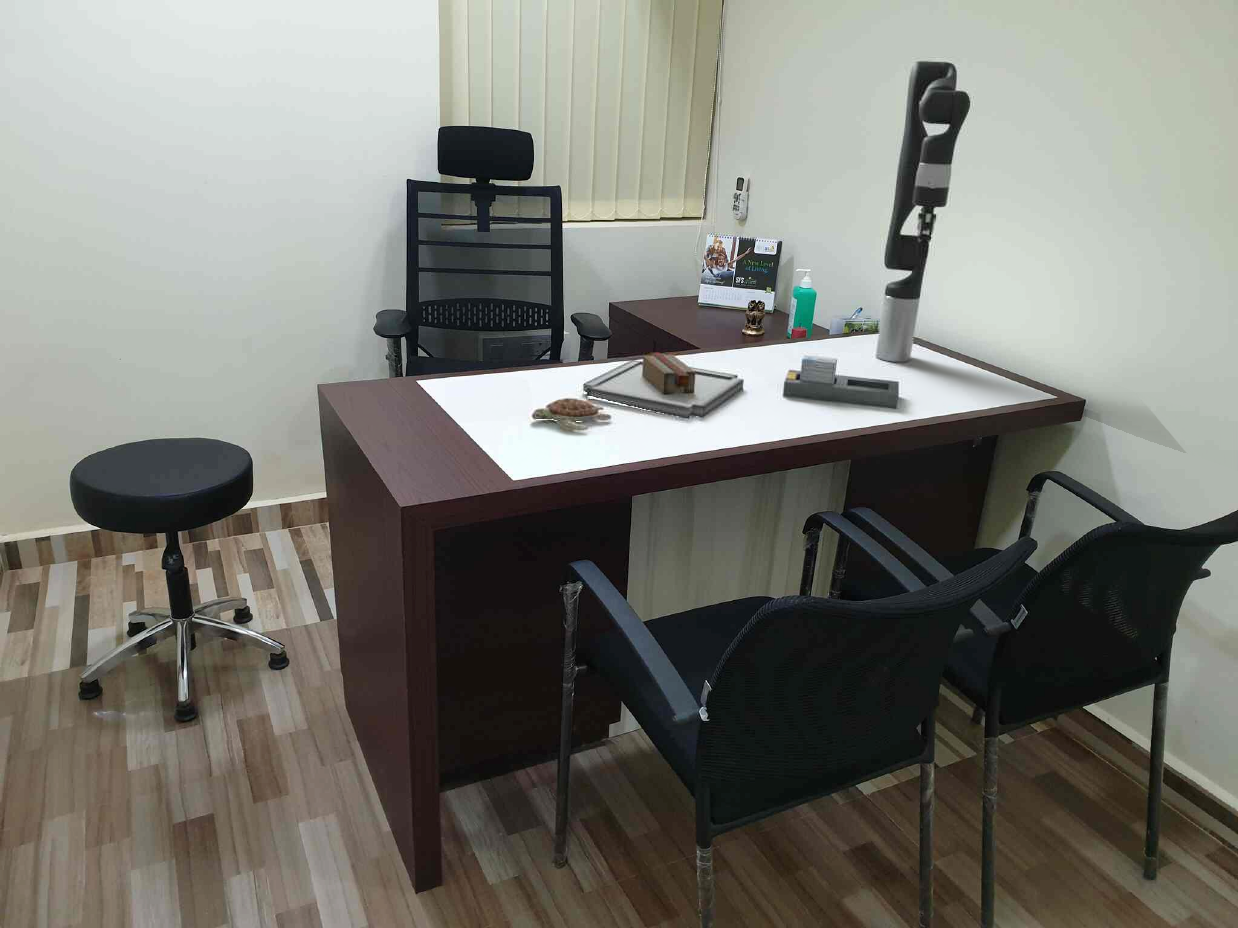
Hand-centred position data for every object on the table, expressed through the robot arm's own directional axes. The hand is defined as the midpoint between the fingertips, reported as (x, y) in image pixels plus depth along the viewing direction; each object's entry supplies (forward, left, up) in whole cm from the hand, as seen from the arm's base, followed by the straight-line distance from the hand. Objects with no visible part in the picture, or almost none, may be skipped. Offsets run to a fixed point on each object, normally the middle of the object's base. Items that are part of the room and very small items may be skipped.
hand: (920, 256), depth 215 cm
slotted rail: (+14, -14, -32) cm, 38 cm away
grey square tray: (+27, -54, -33) cm, 69 cm away
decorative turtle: (+54, -68, -33) cm, 93 cm away
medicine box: (+14, -20, -32) cm, 40 cm away
